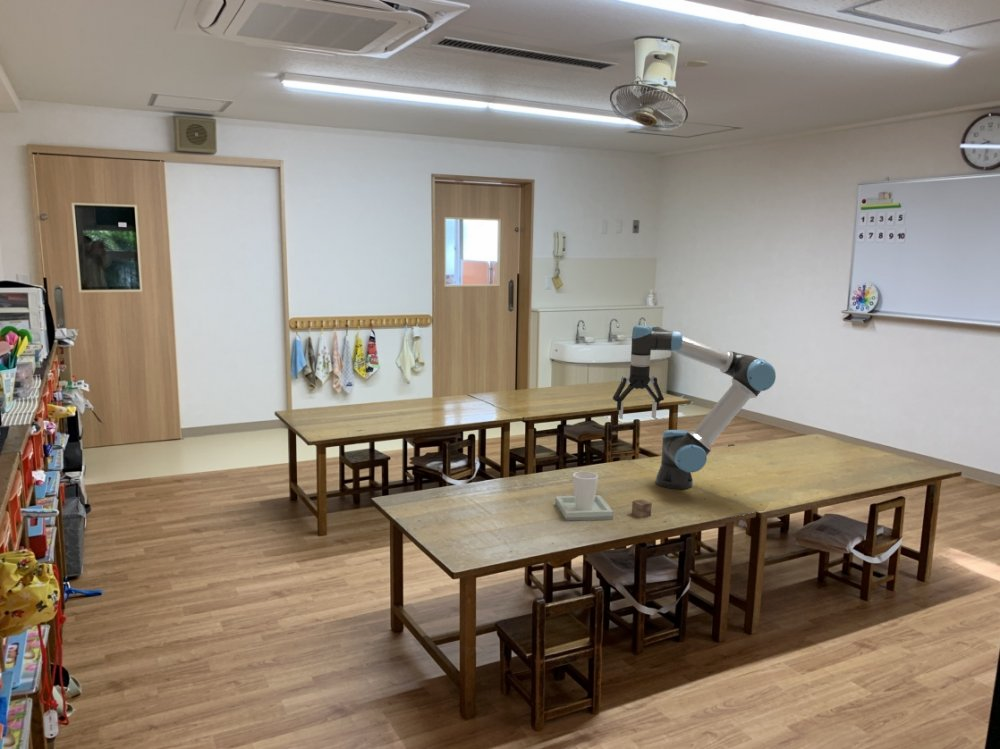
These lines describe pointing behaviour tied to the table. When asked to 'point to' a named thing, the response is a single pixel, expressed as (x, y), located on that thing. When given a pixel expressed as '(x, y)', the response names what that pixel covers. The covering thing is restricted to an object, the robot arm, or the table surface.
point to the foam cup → (585, 489)
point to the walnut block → (641, 508)
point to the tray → (571, 513)
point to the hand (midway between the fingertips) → (637, 418)
